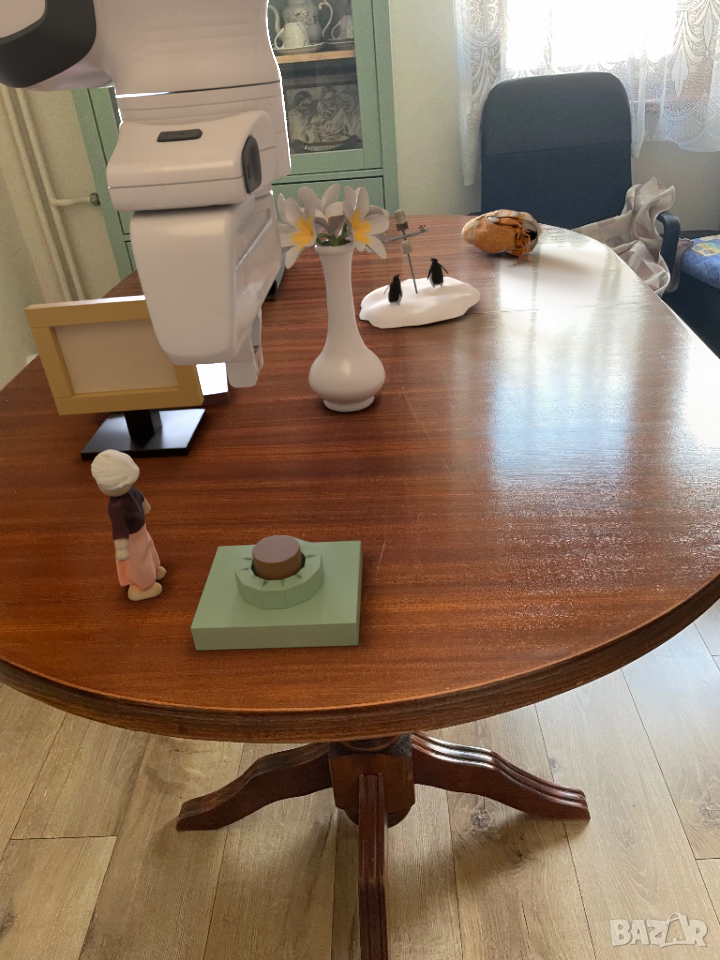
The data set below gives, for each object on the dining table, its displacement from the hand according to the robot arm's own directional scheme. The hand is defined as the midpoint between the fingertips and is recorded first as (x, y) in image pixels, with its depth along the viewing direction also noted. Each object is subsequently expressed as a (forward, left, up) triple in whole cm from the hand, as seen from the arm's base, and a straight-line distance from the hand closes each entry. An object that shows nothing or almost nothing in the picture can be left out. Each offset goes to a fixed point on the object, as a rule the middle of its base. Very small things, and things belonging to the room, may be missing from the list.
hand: (247, 378), depth 47 cm
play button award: (-22, +47, -19) cm, 55 cm away
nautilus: (+31, +102, -19) cm, 108 cm away
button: (0, 0, -15) cm, 15 cm away
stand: (-20, +31, -19) cm, 41 cm away
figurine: (+13, +72, -19) cm, 76 cm away
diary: (-21, +94, -19) cm, 98 cm away
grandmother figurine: (-12, +3, -19) cm, 23 cm away
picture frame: (-20, +28, -14) cm, 37 cm away
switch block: (0, 0, -19) cm, 19 cm away
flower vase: (+3, +38, -19) cm, 43 cm away
